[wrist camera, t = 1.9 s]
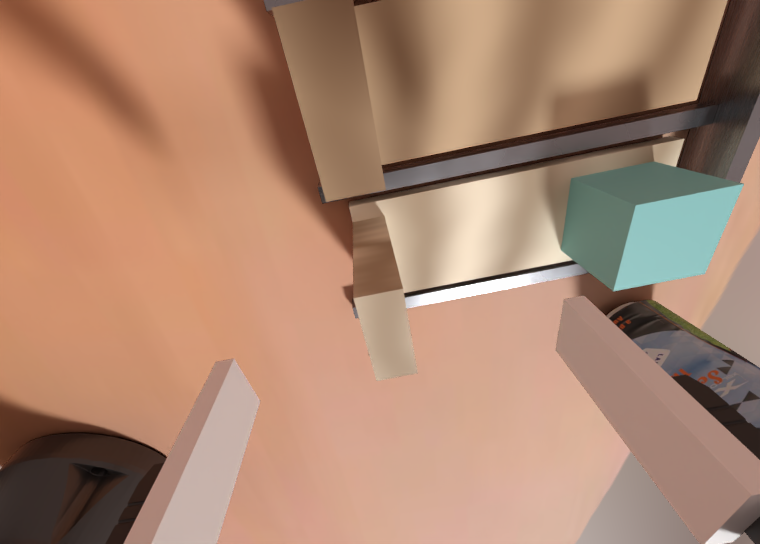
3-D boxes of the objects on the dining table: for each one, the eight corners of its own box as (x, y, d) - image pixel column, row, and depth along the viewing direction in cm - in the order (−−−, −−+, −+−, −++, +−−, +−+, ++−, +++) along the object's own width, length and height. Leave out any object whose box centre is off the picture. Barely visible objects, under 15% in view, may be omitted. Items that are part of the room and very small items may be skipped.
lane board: (355, 308, 24) (355, 334, 22) (264, -11, 14) (246, -33, 12) (664, 248, 24) (703, 267, 21) (792, -130, 14) (894, -179, 11)
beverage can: (600, 291, 25) (772, 431, 15) (681, 292, 26) (897, 426, 16) (571, 347, 28) (695, 495, 18) (643, 347, 29) (802, 488, 19)
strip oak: (341, 169, 18) (333, 229, 11) (305, 21, 15) (255, -49, 7) (680, 99, 18) (927, 109, 10) (729, -72, 14) (1170, -257, 7)
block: (560, 250, 21) (613, 291, 17) (571, 178, 19) (636, 205, 14) (633, 236, 21) (704, 273, 17) (653, 161, 19) (744, 183, 14)
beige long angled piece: (370, 291, 23) (380, 394, 15) (349, 201, 19) (347, 277, 12) (640, 238, 23) (789, 317, 15) (669, 136, 19) (886, 170, 11)
